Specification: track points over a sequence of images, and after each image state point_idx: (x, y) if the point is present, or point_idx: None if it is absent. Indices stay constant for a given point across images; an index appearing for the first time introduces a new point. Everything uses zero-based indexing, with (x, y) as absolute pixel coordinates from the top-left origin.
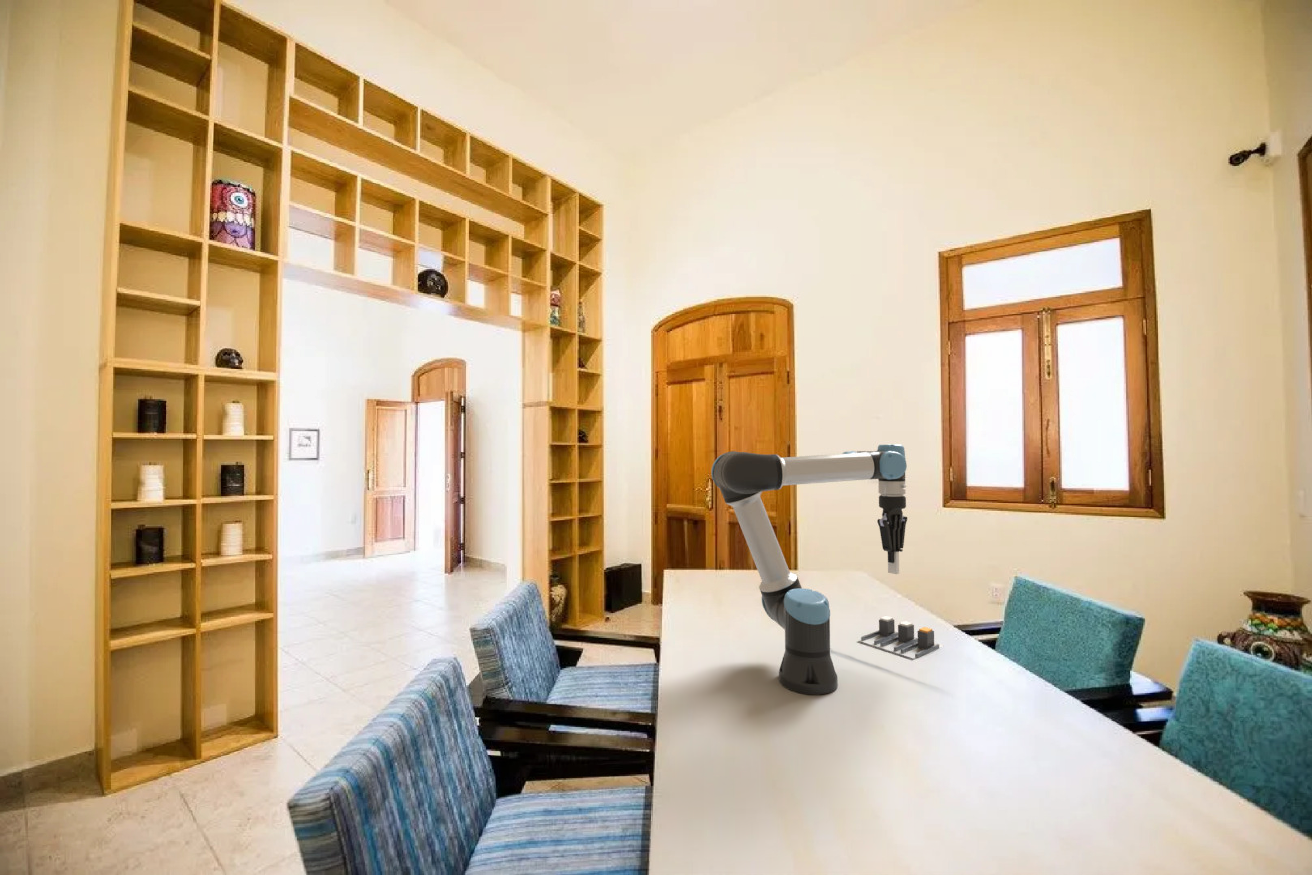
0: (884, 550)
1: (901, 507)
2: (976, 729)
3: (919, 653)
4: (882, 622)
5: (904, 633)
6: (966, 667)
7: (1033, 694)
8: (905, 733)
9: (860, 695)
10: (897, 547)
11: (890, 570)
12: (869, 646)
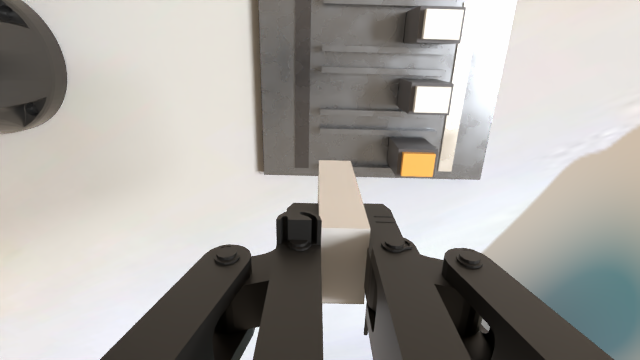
0: (283, 217)
1: None
2: None
3: None
4: (417, 21)
5: (404, 101)
6: None
7: (340, 338)
8: (34, 280)
9: (65, 172)
10: (367, 325)
11: (318, 181)
12: (295, 46)
